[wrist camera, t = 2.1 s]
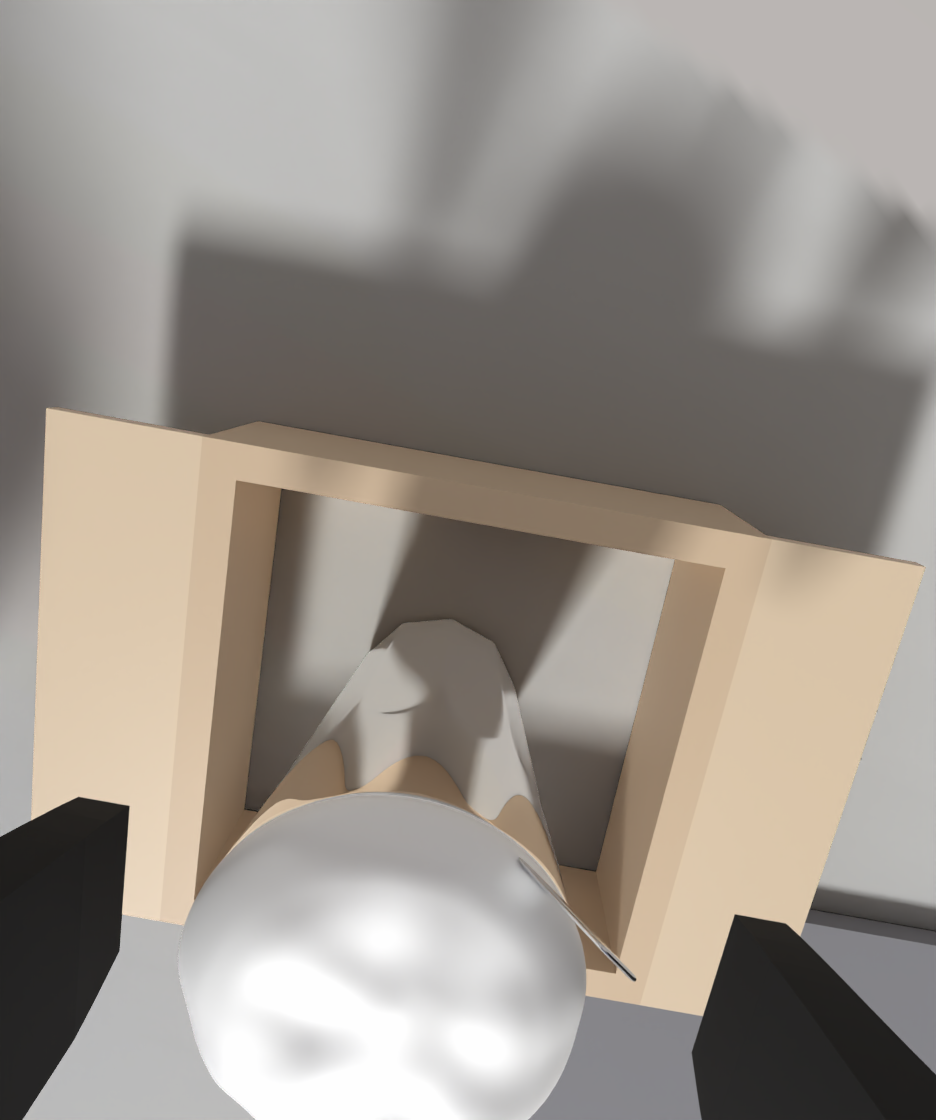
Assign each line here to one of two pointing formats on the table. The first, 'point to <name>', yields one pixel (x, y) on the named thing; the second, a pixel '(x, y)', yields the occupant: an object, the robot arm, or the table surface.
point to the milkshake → (394, 909)
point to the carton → (494, 500)
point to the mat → (668, 1036)
